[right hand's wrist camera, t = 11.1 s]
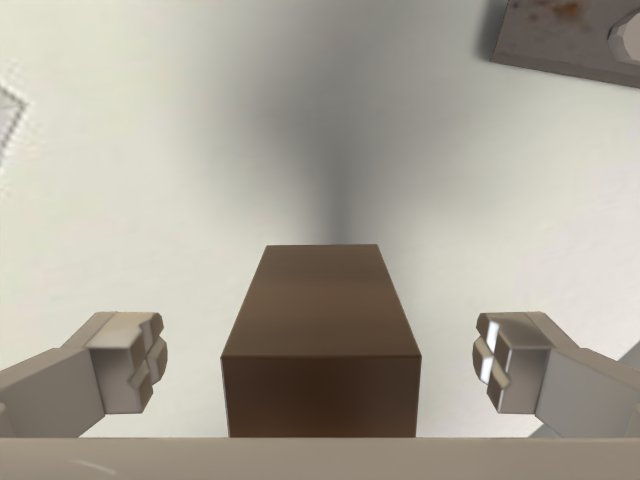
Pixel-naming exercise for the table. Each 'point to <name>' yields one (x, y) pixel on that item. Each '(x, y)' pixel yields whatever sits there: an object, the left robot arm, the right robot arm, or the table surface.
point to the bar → (321, 349)
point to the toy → (573, 38)
